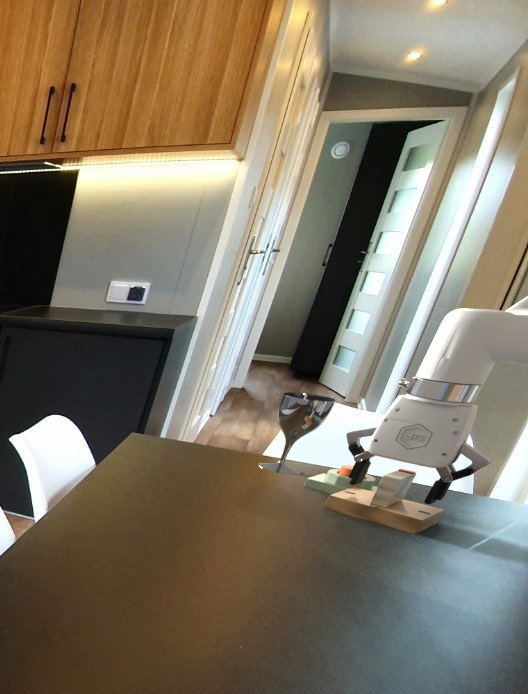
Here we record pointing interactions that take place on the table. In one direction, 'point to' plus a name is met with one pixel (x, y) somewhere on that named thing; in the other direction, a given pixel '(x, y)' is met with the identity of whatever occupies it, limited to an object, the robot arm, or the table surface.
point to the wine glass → (298, 422)
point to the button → (346, 470)
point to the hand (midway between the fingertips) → (391, 492)
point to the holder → (393, 487)
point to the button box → (337, 482)
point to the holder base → (384, 510)
